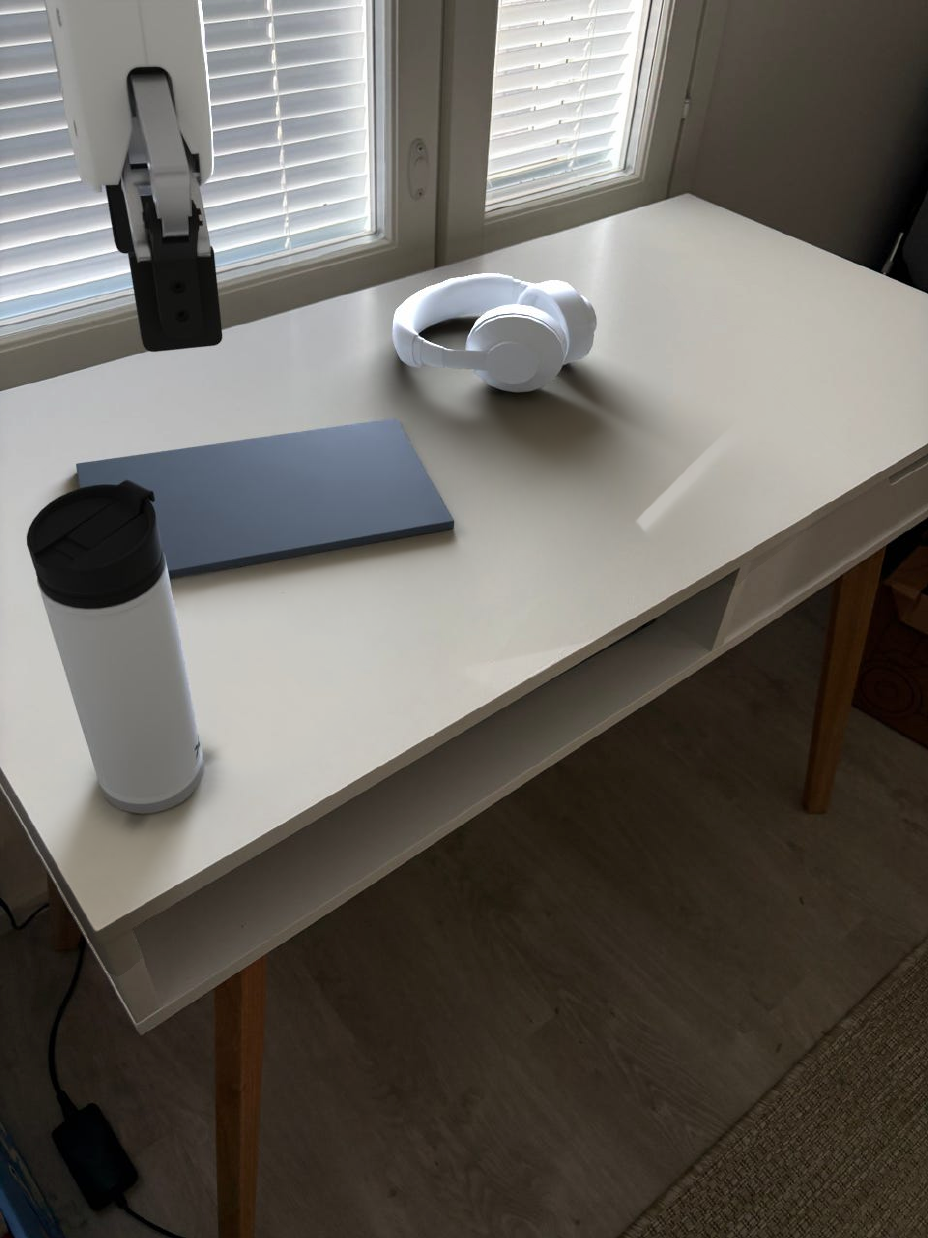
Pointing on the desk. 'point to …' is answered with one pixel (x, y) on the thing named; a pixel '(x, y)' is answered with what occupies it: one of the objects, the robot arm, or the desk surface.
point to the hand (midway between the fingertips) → (166, 293)
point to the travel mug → (119, 642)
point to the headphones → (500, 329)
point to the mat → (281, 495)
